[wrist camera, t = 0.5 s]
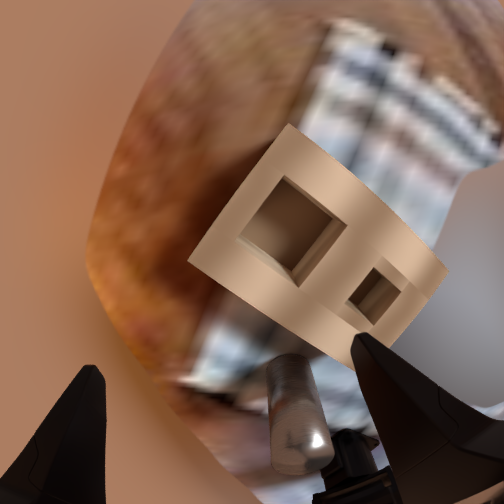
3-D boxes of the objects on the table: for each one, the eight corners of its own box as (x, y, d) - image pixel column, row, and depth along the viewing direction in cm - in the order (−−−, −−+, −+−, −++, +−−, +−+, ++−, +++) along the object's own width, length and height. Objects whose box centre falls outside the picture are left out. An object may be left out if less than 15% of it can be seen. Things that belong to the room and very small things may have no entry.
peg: (320, 367, 24) (347, 451, 14) (291, 395, 25) (304, 479, 15) (285, 346, 23) (301, 434, 14) (257, 376, 24) (258, 465, 14)
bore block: (419, 256, 22) (449, 271, 17) (346, 346, 23) (362, 375, 19) (281, 135, 20) (288, 123, 15) (200, 245, 22) (187, 260, 17)
